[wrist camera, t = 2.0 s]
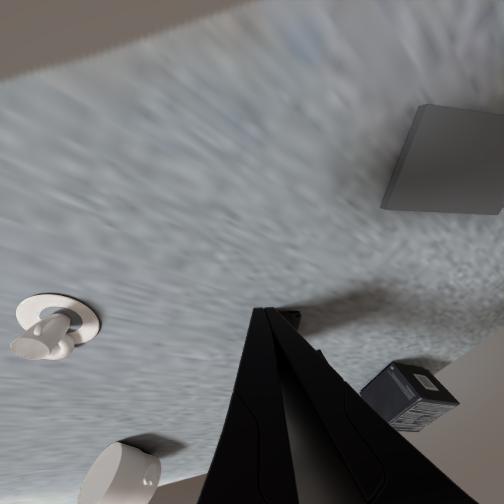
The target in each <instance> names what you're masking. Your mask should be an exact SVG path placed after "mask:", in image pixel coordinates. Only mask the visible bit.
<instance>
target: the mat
mask: <svg viewBox="0 0 504 504" xmlns="http://www.w3.org/2000/svg"><path fill="white" fill-rule="evenodd" d="M503 207H504V116H502V115H496V114H489V113H483V112H476V111H469V110H463V109H456V108H450V107H443V106H437V105H430V104H426V105H422V106H419V107H418V110H417V113H416V115H415V118H414V120H413V123H412V126H411V128H410V131H409V134H408V136H407V139H406V141H405V144H404V147H403V149H402V152H401V155H400V157H399V160H398V162H397V165H396V168H395V170H394V173H393V176H392V178H391V181H390V183H389V186H388V189H387V191H386V194H385V197H384V199H383V202H382V204H381V207H380V208H383V209H386V210H406V211H425V212H445V213H464V214H484V215H498V214H499V213H500V211H501V210H502V208H503Z"/></svg>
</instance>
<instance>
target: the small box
mask: <svg viewBox="0 0 504 504" xmlns="http://www.w3.org/2000/svg"><path fill="white" fill-rule="evenodd" d="M360 395H361V397H362V398H363V399H364V400H365V401H366V402H367V403H368V404H369V405H370V406H371V407H372V408H373V409H374V410H375V411H376V412H377V413H378V414H379V415H380V416H381V417H382V418H383V419H384V420H386V421H387V422H388V423H389V424H390V425H391V426H392V427H393V428H394V429H395V430H396V431H407V432H419V431H420V430H421V429H422V428H424V427H425V426H426V425H428V424H429V423H431V422H432V421H434V420H435V419H437V418H438V417H440V416H441V415H443V414H444V413H446V412H448V411H449V410H451V409H452V408H454V407H456V406H457V405H459V404H460V403H459V402H458V401H457V400H456V399H455V398H454V397H453V396H452V395H451V393H450V392H449V391H448V390H447V389H446V388H445V387H444V386H443V385H442V384H441V383H440V382H439V381H438V380H437V379H436V378H435V377H434V376H433V375H432V374H431V373H430V372H429V371H428V370H427V369H422V368H416V367H411V366H406V365H401V364H396V363H392V364H391V365H389V366H388V367H387V368H386V369H385V370H384V371H383V372H382V373H381V374H380V375H379V376H378V377H377V378H375V379H374V380H373V381H372V382H371V383H370V384H369V385H368V386H367V387H366V388H365V389H364V390H362V391H361V392H360Z"/></svg>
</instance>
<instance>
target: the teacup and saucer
mask: <svg viewBox="0 0 504 504" xmlns="http://www.w3.org/2000/svg"><path fill="white" fill-rule="evenodd" d="M51 306H61V307H65V308H68V309H71V310H73V311H75V312H76V313H77V314H78V315H79V316H80V317H81V318H82V321H83V324H82V327H81V328H80V329H79V330H77V331H75V332H70V333H66V332H67V330H68V328H69V326H70V318H69V317H68V316H66V315H64V314H60V313H56V314H52V315H49V316H47V317H45V318H43V319H42V320H40V318H39V314H40V312H41V311H42V310H43V309H44V308H47V307H51ZM16 316H17V319H18V322H19V323H20V325H21V326H22V327H23V328H24V329H25V330H26V331H25V332H24V333H23V334H21V335H20V336H19V337H17V338H16V339H15V340H14V341H13V342H12V343H11V345H10V347H11V349H12V351H13V352H14V353H15V354H17V355H19V356H21V357H24V358H28V359H42V358H46V359H51V360H57V359H61V358H64V357H66V356H68V355H69V354H70V353H71V352H72V351H73V349H74V345H76V344H81V343H85V342H87V341H89V340H91V339H92V338H94V337H95V336H96V334H97V333H98V331H99V321H98V318H97V317H96V315H95V314H94V312H93V311H92V310H91V309H89V308H88V307H87V306H85V305H84V304H82V303H81V302H79V301H76V300H74V299H72V298H69V297H65V296H61V295H54V294H42V295H35V296H32V297H29V298H27V299H25V300H24V301H22V302H21V303H20V304H19V306H18V308H17V311H16ZM57 344H58V345H59V346H60V347H61V348H55V347H56V345H57Z"/></svg>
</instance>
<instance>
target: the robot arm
mask: <svg viewBox="0 0 504 504" xmlns="http://www.w3.org/2000/svg"><path fill="white" fill-rule="evenodd" d="M300 318H301V313H300V312H299V311H288V312H278V311H277V310H276V309H275V308H274V307H265V308H262V307H260V308H254V309H253V312H252V316H251V320H250V324H249V328H248V332H247V336H246V340H245V344H244V348H243V352H242V356H241V360H240V364H239V368H238V372H237V377H236V381H235V385H234V389H233V393H232V396H231V400H230V404H229V408H228V412H227V415H226V419H225V423H224V426H223V430H222V433H221V436H220V439H219V442H218V445H217V448H216V451H215V454H214V457H213V460H212V462H211V465H210V468H209V471H208V473H207V476H206V479H205V482H204V484H203V487H202V490H201V493H200V495H199V498H198V501H197V504H479V503H478V502H476V501H475V500H474V499H473V498H472V497H470V496H469V495H468V494H467V493H466V492H464V491H463V490H462V489H461V488H460V487H459V486H457V485H456V484H455V483H454V482H453V481H452V480H451V479H449V477H447V476H446V475H445V474H444V473H443V472H442V471H441V470H440V469H439V468H437V467H436V466H435V465H434V464H433V463H432V462H431V461H430V460H429V459H427V458H426V457H425V456H424V455H423V454H422V453H421V452H420V451H419V450H417V449H416V448H415V447H414V446H413V445H412V444H411V443H409V441H407V440H406V439H405V438H404V437H403V436H402V435H401V434H400V433H399V432H397V431H396V430H395V429H394V428H393V427H392V426H391V425H390V424H389V423H388V422H387V421H386V420H384V419H383V418H382V417H381V416H380V415H379V414H378V413H377V412H376V411H375V410H374V409H373V408H372V407H371V406H370V405H369V404H368V403H367V402H366V401H365V400H364V399H363V398H362V397H361V396H360V395H359V394H358V393H357V392H356V391H355V390H354V389H353V388H352V387H351V386H350V385H349V384H348V383H347V382H346V381H344V380H343V378H342V377H341V376H340V375H339V374H338V373H337V372H336V371H335V370H334V369H333V368H332V367H331V366H330V365H329V364H328V362H327V360H326V359H325V357H324V355H323V354H322V352H321V350H320V349H319V350H315V349H314V348H313V347H312V346H311V345H310V344H309V343H308V342H307V341H306V340H305V339H304V338H303V337H302V336H301V335H300V334H299V333H298V331H297V330H298V326H299V322H300Z"/></svg>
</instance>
